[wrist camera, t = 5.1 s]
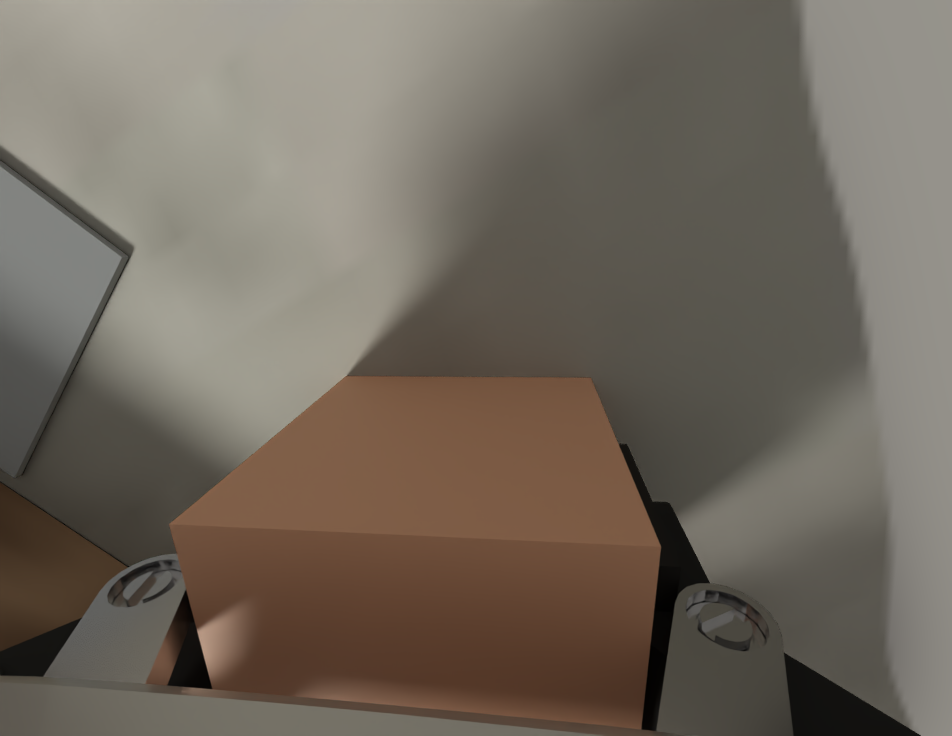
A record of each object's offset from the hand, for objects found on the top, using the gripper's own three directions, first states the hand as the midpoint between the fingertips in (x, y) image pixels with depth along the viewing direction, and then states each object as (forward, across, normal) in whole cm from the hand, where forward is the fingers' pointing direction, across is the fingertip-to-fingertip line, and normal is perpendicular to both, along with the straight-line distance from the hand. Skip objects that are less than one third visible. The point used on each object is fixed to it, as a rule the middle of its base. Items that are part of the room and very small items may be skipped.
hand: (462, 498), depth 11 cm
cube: (+1, 0, 0) cm, 1 cm away
